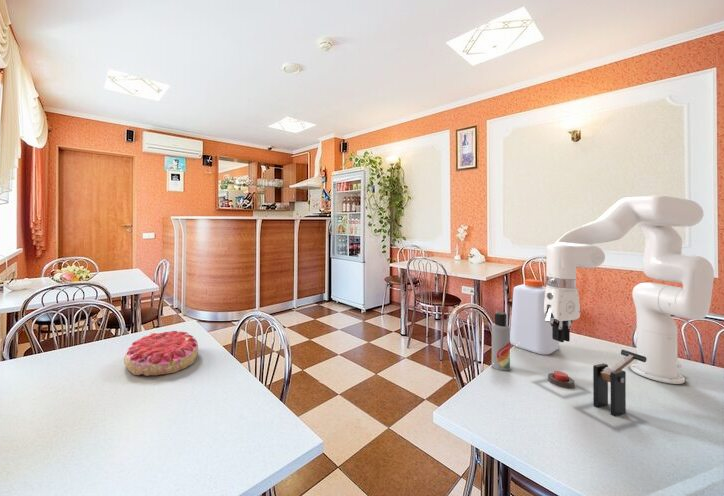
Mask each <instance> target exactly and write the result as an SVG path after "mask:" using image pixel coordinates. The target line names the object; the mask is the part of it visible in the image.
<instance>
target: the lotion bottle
mask: <svg viewBox="0 0 724 496" xmlns="http://www.w3.org/2000/svg"><path fill="white" fill-rule="evenodd" d="M510 328H511V326H509V324H508V315H507V312H505V311H495V312H494V323H491V366H492V367H493V368H494V369H495V370H498V371H505V372H506V371H509V370H511V343H510ZM493 363H494V364H493ZM492 364H493V365H492Z"/></svg>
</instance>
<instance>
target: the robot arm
mask: <svg viewBox="0 0 724 496" xmlns="http://www.w3.org/2000/svg"><path fill="white" fill-rule="evenodd" d="M703 218H704V210H703V207H702V206H701V205H700V204H699V203H698V202H696V201H694V200H692V199H687V198H679V197H674V196H669V195H668V196H667V195H639V196H637V195H636V196H627V197H622V198H621V199H619V200H616V202H615V203H614V204H613V205H611V206H610V207H609V208H608V209H607V210H605V212H603V214H602V215H600V216H599V217H598V218H597V219H596V220H594V221H591V222H588V223H586V224H583V225H581V226H579V227H576V228H573V229H571V230H569V231H567V232H565V233H564V234H563V235H561V236H560V237H559V238H558V239H557V240H556V241H555V242H554V243H553V244H548V245H547V246H546V249H545V250H546V251H545V270H546V272H545V277H546V278H545V287H546V291H545V298H544V314H545V316H546V319H545V321H546V322H548V323H550V324H551V327H552V338H553V339H554V340H556V341H559V343H565V342H570V339H571V334H570V332H571V331H570V329H571V328H572V323H573V322H574V321H575V320H578V319H579V318H580V317H581V304H580V296H579V290H578V287H577V268H587V269H594V268H598V267H600V266H601V265H602V264H603V263H604V262H605V260H606V254H605V251H604V250H603V249H602V248H600V247H599V246H597V245H598V244H604V243H609V242H615V241H618V240H620V239H623V238H624V237H625V236H626V235H627V234H628V233H629V232H630V231H631V230H632V229H634V228H635V226H638V227H639V228H640V229H641V231H642V232H643V235H644V239H645V242H644V243H645V244H644V251H643V260H642V272H643V274H644V275H645V276H647V277H648V278H649V279H654V280H659V281H666V282H671V283H677V284H682V286H681V287H680V286H675V285H670V284H664V283H659V282H657V283H656V282H640V283H638V284H635V286H634V287H633V289H632V292H631V293H632V300H633V304H634V308H635V314H636V315H635V316H636V354H638V355H641V356H645V357H646V359H647V360H646V362H642V361H639V360H636V362H635V363H630V370H631V371H632V372H634V373H635V374H637V375H639V376H641V377H643V378H646V379H650V380H653V381H655V382H656V381H657V382H660V383H665V384H672V385H682V384H684V383H686V379H685V377H684V376H683V375H682V374H681V373H679V372H678V371H679V370H678V369H680V368H682V366H683V365H682V363H681V362H680V361H678V360H679V359H678V353H679V352H678V334H679V333H678V325H677V323H676V321H675V320H674V318H673V317H672V316H675V317H679V318H683V319H689V320H692V321H693V320H694V321H695V320H696V321H699V320H703V319H705V318H706V317H707V315H708V314H709V312H710V309H711V304H712V295H713V290H714V287H713V286H714V280H715V270H714V267H713V265H712V263H711V262H710V261H709V260H708V259H707V258H705V257H703V256H699V255H693V254H683V253H682V248H683V239H682V237H681V235H680V234H679V232H678V231H677V230H676V229H675V228H674V227H681V228H683V227H686V228H687V227H693V226H696V225H698V224H699V223H700V222H701V221H702V220H703ZM596 244H597V245H596ZM556 321H557V322H556Z"/></svg>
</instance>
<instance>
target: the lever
mask: <svg viewBox="0 0 724 496" xmlns="http://www.w3.org/2000/svg"><path fill="white" fill-rule="evenodd" d="M620 355H621V356H625V357H624V358H623V359H622V360H620V361H619V362H618V363H617V364H615V365H614V366H613V367H612V368H610V367H609V366H608V367H606V368H605V369H603V370H602V371H601V376H602V379H603V380H605V381H608V383H610V384H611V374H610V372H614V371H619V370H623V369H624V368H626V367H627V366H628V365H629V364H632V362H633V361H634V360H636V361H637V360H639V361H642V362H646V360H647V359H646V357H645V356H641V355H638V354H637V353H636V352H632V351H629V350H626V349H621V350H620Z"/></svg>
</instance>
